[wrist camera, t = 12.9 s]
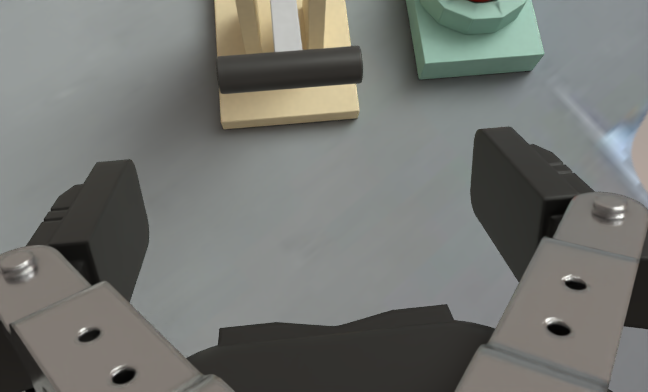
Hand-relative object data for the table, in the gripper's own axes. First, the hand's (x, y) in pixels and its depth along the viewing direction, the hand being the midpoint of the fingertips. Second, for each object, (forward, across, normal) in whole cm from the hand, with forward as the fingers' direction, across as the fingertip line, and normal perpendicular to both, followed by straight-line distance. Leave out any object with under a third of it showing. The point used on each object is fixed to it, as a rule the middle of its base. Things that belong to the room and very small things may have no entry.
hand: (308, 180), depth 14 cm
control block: (+30, -13, +2) cm, 32 cm away
